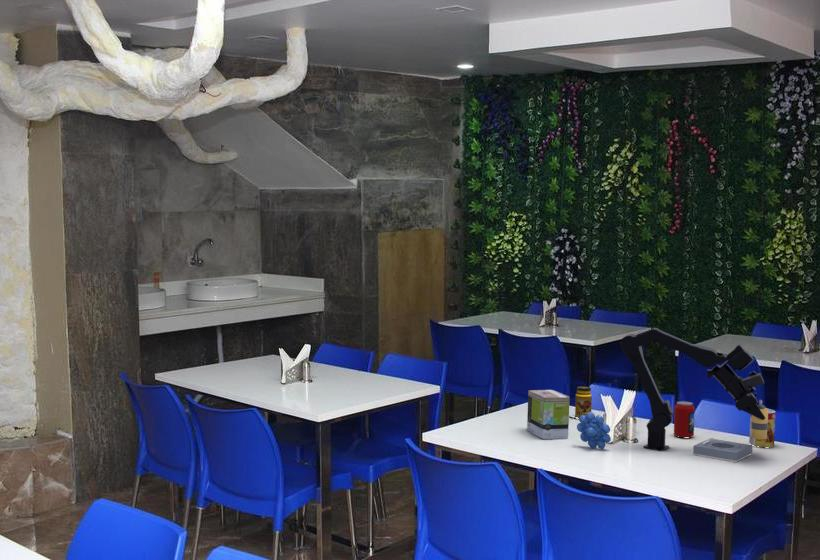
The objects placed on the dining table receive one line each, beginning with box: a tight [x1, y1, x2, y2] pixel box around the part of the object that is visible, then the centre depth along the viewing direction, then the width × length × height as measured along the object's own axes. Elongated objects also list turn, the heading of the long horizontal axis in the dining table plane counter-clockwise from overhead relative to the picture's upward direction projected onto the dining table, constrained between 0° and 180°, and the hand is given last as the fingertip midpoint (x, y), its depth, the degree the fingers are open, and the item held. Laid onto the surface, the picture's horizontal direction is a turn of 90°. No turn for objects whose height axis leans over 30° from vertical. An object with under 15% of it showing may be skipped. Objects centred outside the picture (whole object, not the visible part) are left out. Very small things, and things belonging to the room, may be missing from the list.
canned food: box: [748, 408, 776, 448], centre depth 319 cm, size 8×8×12 cm
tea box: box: [526, 389, 571, 440], centre depth 331 cm, size 15×10×15 cm
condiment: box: [574, 385, 593, 418], centre depth 359 cm, size 7×8×12 cm
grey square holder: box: [692, 438, 753, 463], centre depth 306 cm, size 14×14×3 cm
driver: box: [751, 399, 769, 439], centre depth 302 cm, size 5×5×12 cm
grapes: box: [576, 411, 612, 450], centre depth 311 cm, size 12×7×12 cm, turn 60°
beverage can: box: [673, 400, 696, 438], centre depth 330 cm, size 7×7×12 cm
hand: (764, 417), depth 301 cm, fingers closed on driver, 5 cm apart
